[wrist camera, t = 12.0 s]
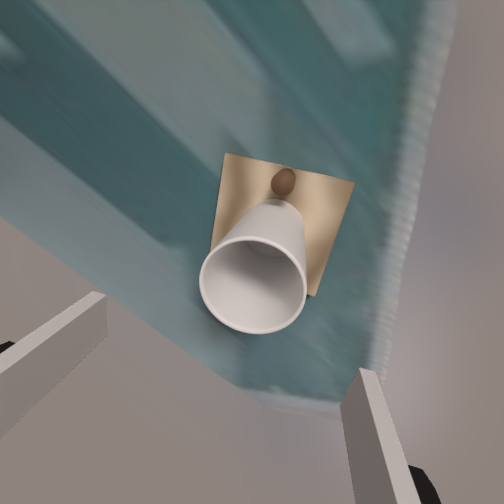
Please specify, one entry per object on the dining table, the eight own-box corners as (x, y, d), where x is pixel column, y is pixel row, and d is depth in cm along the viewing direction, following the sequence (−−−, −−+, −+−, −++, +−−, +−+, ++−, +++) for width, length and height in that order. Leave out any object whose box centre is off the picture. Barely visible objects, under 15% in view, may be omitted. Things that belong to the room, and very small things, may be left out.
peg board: (212, 261, 39) (191, 286, 32) (229, 153, 33) (208, 153, 26) (313, 289, 38) (317, 322, 31) (351, 181, 32) (367, 189, 24)
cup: (295, 264, 35) (292, 346, 20) (238, 250, 36) (194, 319, 21) (311, 206, 32) (321, 252, 17) (247, 192, 32) (204, 225, 18)
